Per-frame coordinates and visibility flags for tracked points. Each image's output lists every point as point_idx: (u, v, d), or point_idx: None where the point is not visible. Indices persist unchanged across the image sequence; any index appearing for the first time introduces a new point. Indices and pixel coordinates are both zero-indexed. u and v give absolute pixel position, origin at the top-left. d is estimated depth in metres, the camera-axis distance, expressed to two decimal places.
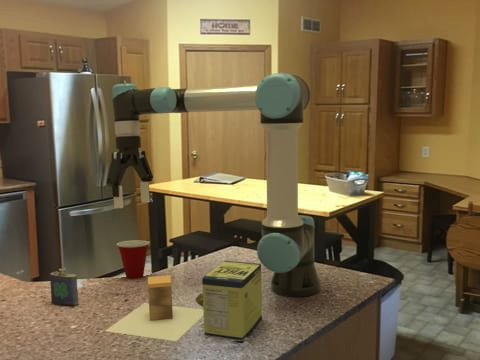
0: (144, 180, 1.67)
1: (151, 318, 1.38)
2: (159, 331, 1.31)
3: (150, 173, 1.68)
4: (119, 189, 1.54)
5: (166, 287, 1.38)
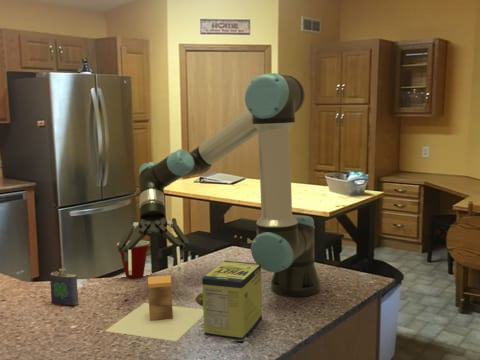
0: None
1: (151, 318, 1.38)
2: (159, 331, 1.31)
3: (184, 238, 1.53)
4: (128, 253, 1.48)
5: (166, 287, 1.38)
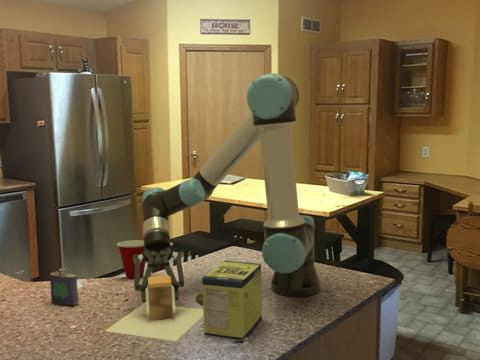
0: None
1: (151, 318, 1.38)
2: (159, 331, 1.31)
3: (181, 276, 1.43)
4: (145, 292, 1.39)
5: (166, 287, 1.38)
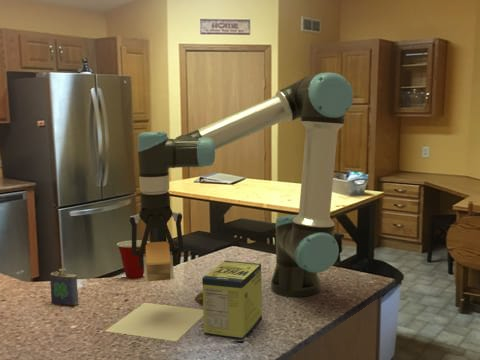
0: None
1: (149, 280, 1.40)
2: (159, 331, 1.31)
3: (180, 244, 1.37)
4: (143, 260, 1.36)
5: (165, 264, 1.34)
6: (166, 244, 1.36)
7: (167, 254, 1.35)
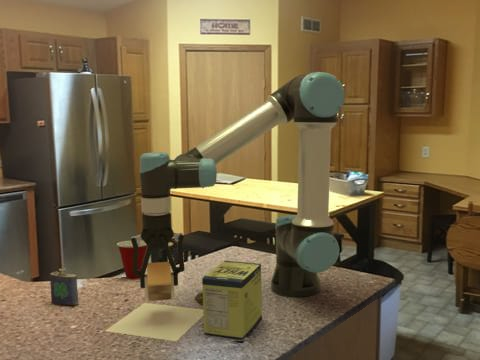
0: None
1: (150, 300, 1.40)
2: (159, 331, 1.31)
3: (181, 264, 1.37)
4: (144, 280, 1.36)
5: (166, 285, 1.35)
6: (167, 264, 1.37)
7: (168, 275, 1.35)
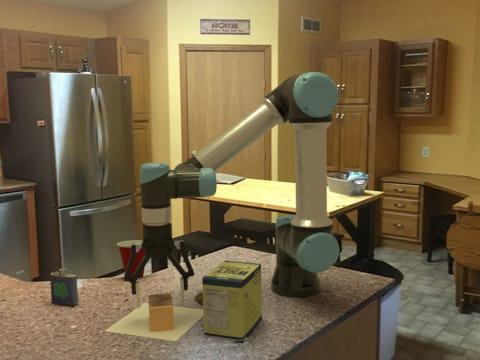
0: (182, 276, 1.39)
1: None
2: (159, 331, 1.31)
3: (189, 269, 1.38)
4: (135, 287, 1.36)
5: None
6: (170, 310, 1.32)
7: (171, 321, 1.32)
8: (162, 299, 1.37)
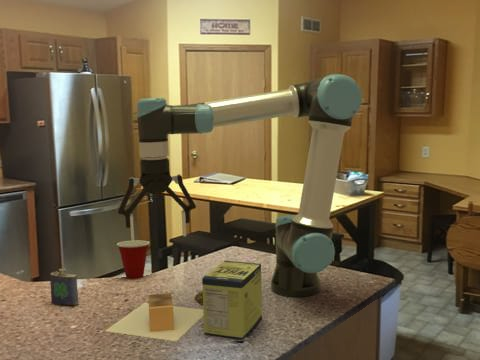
0: (184, 209, 1.41)
1: None
2: (159, 331, 1.31)
3: (190, 202, 1.39)
4: (130, 220, 1.37)
5: None
6: (170, 310, 1.32)
7: (171, 321, 1.32)
8: (162, 299, 1.37)
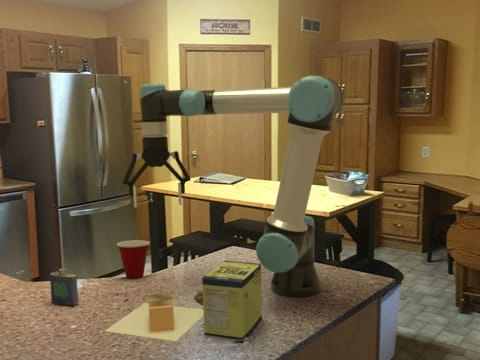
0: (180, 181, 1.62)
1: None
2: (159, 331, 1.31)
3: (186, 175, 1.60)
4: (133, 189, 1.58)
5: None
6: (170, 310, 1.32)
7: (171, 321, 1.32)
8: (162, 299, 1.37)
